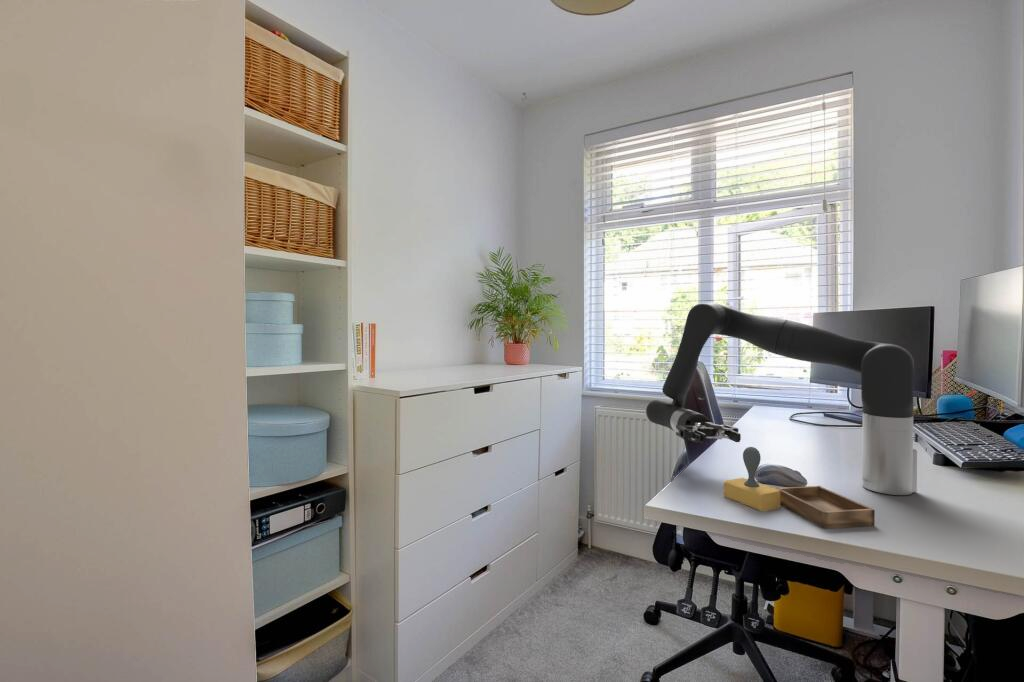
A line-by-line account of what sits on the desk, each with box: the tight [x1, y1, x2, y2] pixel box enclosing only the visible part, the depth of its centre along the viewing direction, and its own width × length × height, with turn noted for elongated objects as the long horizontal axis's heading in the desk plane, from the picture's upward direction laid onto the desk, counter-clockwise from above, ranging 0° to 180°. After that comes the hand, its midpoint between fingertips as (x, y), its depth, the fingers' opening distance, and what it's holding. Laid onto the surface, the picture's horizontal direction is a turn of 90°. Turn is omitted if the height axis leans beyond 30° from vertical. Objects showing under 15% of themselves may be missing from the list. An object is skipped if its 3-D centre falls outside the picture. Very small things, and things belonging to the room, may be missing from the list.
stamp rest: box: [774, 485, 876, 530], centre depth 99 cm, size 10×14×3 cm
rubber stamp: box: [723, 446, 781, 512], centre depth 105 cm, size 10×6×12 cm, turn 23°
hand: (721, 438), depth 116 cm, fingers open, 8 cm apart
